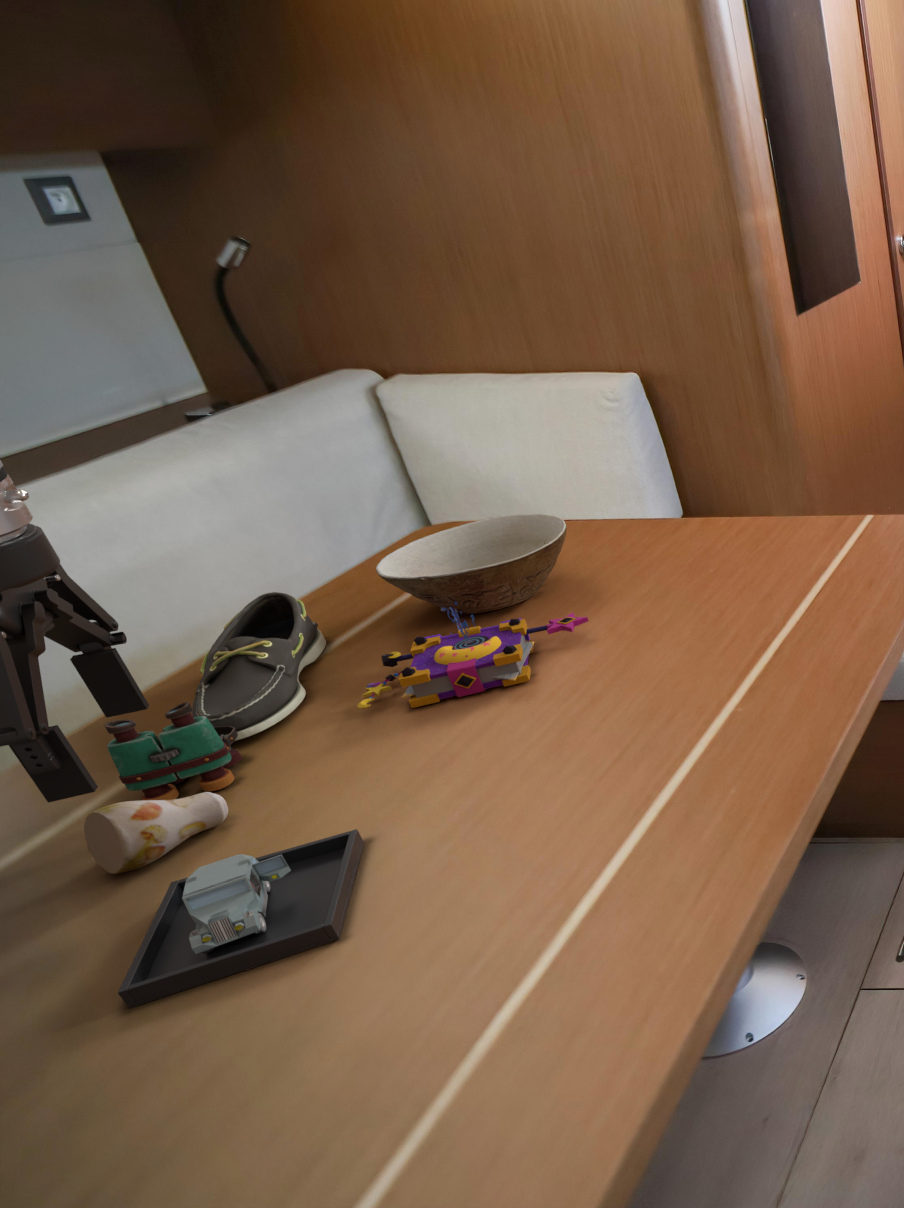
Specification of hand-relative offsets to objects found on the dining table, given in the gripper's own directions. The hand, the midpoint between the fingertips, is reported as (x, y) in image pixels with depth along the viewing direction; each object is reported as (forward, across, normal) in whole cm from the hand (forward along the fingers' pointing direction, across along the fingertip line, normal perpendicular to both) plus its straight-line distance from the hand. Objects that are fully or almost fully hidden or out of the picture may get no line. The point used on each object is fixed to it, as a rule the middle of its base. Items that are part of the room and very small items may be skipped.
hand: (102, 751), depth 85 cm
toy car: (+19, -5, -5) cm, 20 cm away
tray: (+19, -5, -5) cm, 20 cm away
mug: (+20, +13, +5) cm, 24 cm away
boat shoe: (+20, +46, +3) cm, 50 cm away
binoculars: (+20, +26, +6) cm, 33 cm away
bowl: (+20, +61, -21) cm, 68 cm away
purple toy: (+20, +36, -21) cm, 46 cm away
